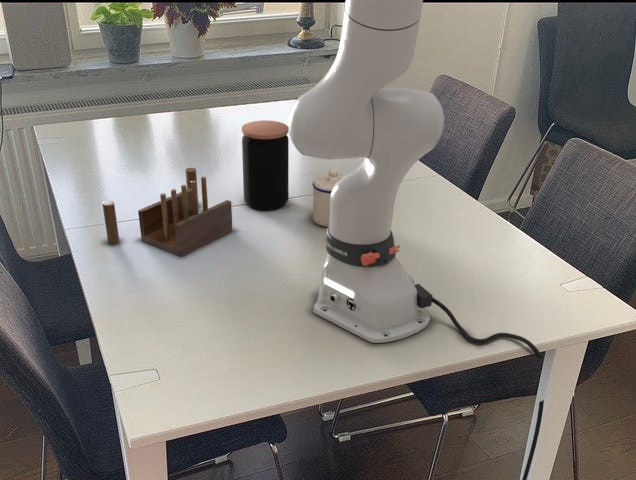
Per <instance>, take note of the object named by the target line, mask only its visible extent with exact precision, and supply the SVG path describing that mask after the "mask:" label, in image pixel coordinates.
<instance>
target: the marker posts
mask: <svg viewBox="0 0 636 480" xmlns="http://www.w3.org/2000/svg"><path fill="white" fill-rule="evenodd" d="M191 181H196V184H197V185H198V177H197V168H195V167H187V168H185V182H186V188H187V189H190V188H192V187H191ZM198 191H199V190H198V189H197V198H198V199H199V192H198ZM101 204H102V210H103V219H104V224H105V231H106V237H107V244H109V245H111V246H113V245H114V246H115V245H117V244H120V235H119V227H118V221H117V214H116V213H117V212H116V206H115V202H114V201H113V200H104V201H103V202H102V203H101ZM199 206H200V205H199V203H198V207H199Z"/></svg>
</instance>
